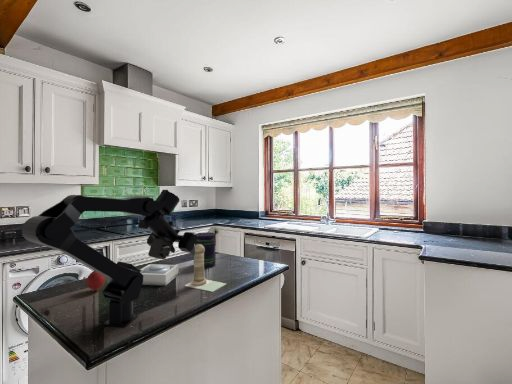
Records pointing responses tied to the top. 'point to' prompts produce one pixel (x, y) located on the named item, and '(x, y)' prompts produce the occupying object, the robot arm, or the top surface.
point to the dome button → (157, 269)
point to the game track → (208, 286)
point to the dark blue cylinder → (208, 248)
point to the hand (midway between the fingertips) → (184, 253)
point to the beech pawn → (199, 266)
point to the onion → (95, 281)
